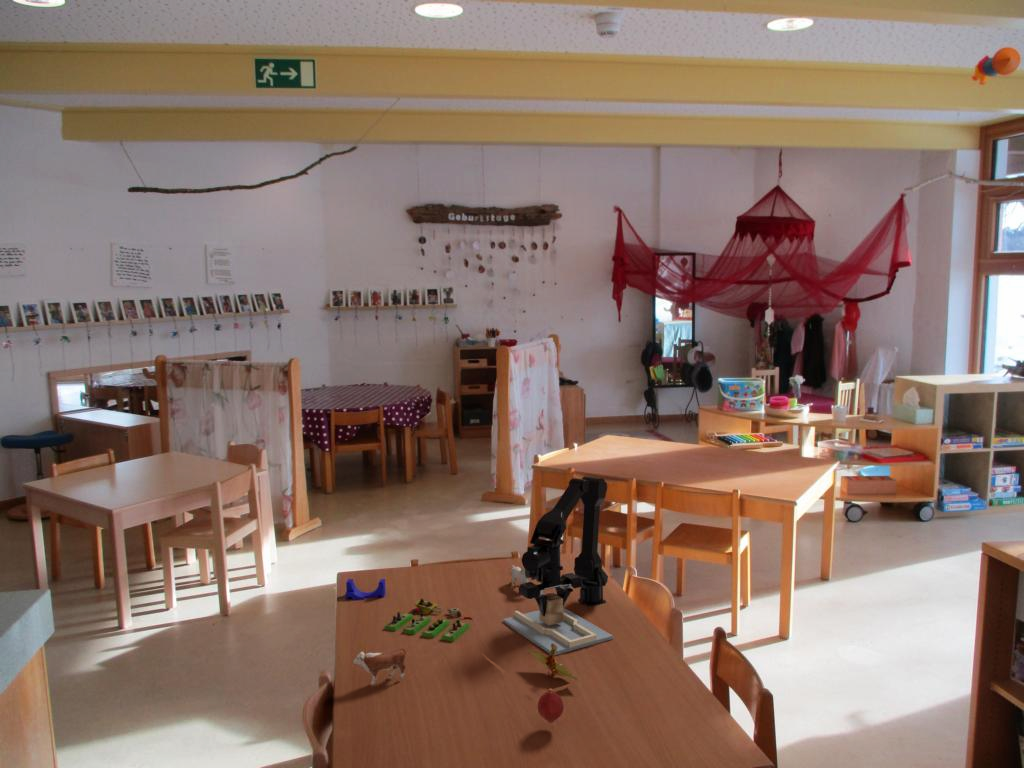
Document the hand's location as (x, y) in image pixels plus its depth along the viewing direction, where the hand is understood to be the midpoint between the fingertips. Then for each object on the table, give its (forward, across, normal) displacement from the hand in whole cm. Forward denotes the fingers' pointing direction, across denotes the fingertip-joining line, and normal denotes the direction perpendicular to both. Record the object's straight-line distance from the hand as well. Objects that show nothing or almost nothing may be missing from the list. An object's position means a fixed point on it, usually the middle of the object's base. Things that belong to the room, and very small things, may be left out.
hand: (551, 614), depth 233 cm
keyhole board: (+4, 0, +3) cm, 5 cm away
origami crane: (+5, +17, +22) cm, 28 cm away
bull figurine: (+4, +54, +5) cm, 54 cm away
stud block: (+2, 0, 0) cm, 2 cm away
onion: (+4, +29, +44) cm, 53 cm away
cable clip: (+4, +38, -51) cm, 64 cm away
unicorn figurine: (+4, -8, -29) cm, 30 cm away
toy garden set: (+5, +28, -22) cm, 35 cm away
